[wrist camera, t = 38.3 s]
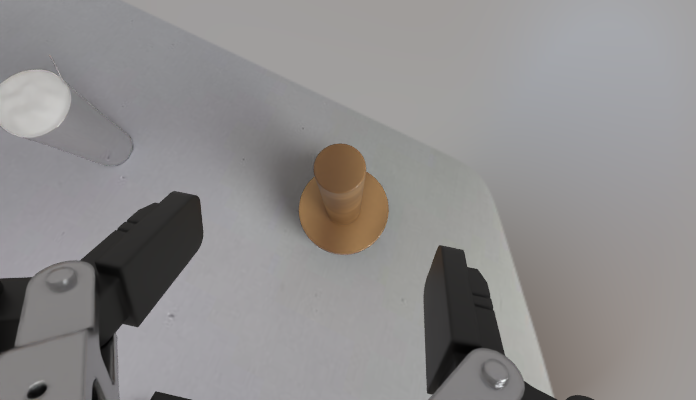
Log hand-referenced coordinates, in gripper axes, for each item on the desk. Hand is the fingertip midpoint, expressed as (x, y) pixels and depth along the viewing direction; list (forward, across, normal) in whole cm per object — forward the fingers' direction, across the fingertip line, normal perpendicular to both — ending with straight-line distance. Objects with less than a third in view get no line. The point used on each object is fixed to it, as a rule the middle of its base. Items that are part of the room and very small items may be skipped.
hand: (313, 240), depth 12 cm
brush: (+14, 0, +9) cm, 17 cm away
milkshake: (+16, +20, +8) cm, 27 cm away
